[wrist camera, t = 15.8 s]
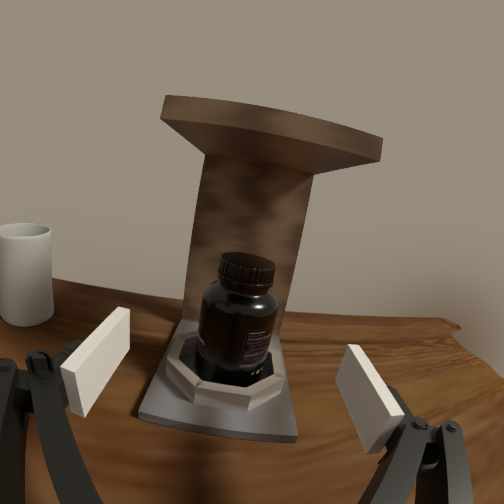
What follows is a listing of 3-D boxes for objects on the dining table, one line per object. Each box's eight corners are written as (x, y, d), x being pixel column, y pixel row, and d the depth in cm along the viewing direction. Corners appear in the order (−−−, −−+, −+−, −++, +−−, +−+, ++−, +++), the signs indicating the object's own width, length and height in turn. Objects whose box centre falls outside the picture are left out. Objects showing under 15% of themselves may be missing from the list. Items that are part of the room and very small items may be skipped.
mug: (40, 333, 25) (33, 240, 23) (-11, 319, 23) (-20, 232, 21) (70, 294, 36) (71, 222, 34) (26, 286, 34) (25, 217, 32)
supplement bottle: (179, 367, 26) (191, 250, 24) (224, 347, 32) (242, 246, 29) (230, 405, 22) (256, 276, 20) (273, 376, 28) (301, 266, 25)
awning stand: (138, 418, 19) (165, 95, 14) (183, 320, 38) (209, 144, 33) (295, 442, 20) (383, 138, 15) (275, 336, 39) (313, 163, 34)
